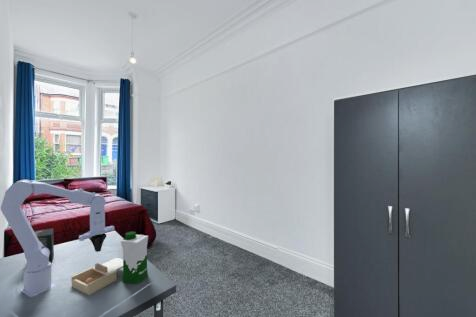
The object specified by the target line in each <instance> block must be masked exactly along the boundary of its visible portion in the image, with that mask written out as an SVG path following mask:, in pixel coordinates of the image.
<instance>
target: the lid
mask: <svg viewBox="0 0 476 317" xmlns="http://www.w3.org/2000/svg"><path fill="white" fill-rule="evenodd" d="M94 266H95V268H93V270H95V271H97V272H99V273H102V274H104V275H107V274H109V273H111V272H113V271H115V270H116V271H117V272H118V271H119V270H121V269H123V258H119V257H114V258H113V259H111V260H107V261H106V262H104V263H101V264H100V263H95V264H94Z"/></svg>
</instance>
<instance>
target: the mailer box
mask: <svg viewBox="0 0 476 317" xmlns="http://www.w3.org/2000/svg"><path fill="white" fill-rule="evenodd" d="M93 268H95V265H94V266H92V267H90V268H87V269H85V270H83V271H81V272H79V273H76V274H74V275H72V276H71V287H72V288H74V289H76V290H78V291H80V292H82V293H84V294H85V295H87V296H90V295H92V294H94V293H96V292H98V291H99V290H101V289H104V288H105V287H107V286H108V285H110V284H112V283H114V282H116V281H117V272H118V270H117V271H116V270H115V271H113V272H111V273H109V274H107V275H104V274H102V273H99V272H97V271H95V270H93ZM88 278H93V279H94V281H93V282H91V283H89V284H85V281H86V280H87V279H88Z"/></svg>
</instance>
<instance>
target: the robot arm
mask: <svg viewBox="0 0 476 317" xmlns="http://www.w3.org/2000/svg"><path fill="white" fill-rule="evenodd" d="M32 193H33V196H37V195H43V194H47V195H52V196H57V197H60V198H65V199H66V198H67V199H68V200H69V202H71V203H74V204H79V205H83V206H90V207H89V231H87V232H85V233H83V234H79V235H78V241H80V242H83V241H85V240H87V239H89V240H90V242H91V244H92V246H93V248H94V252H96V253H99V252H101V251H102V248H103V245H104V244H103V243H104V241H105V240H106V238H107V234H106V233H109V232H113V231H115V226H114V225H110V226H106V211H105V210H106V209H105V205H106V204H107V201H106V198H105V197H104V196H103V195H102V194H100V193H96V192H94V191H93V192H89V191H85V190H84V189H83V188H79V189H78V188H75V189H73V190H70V189H67V188H64V187H60V186H56V185H53V184H50V183H47V182H42V181H37V180H33V181H32V180H30V179H20V180H18V181H16V182H13V183H12V184H11V185H10V186H9V187H8V188H7V190H5V192H4V197H3V200H2V202H1V205H0V211H1V213H2V215H3V217H4V218H5V220H6V222H7V223H8V225H9V227H10V228H11V229H10V230H12V233H13V234H14V236H15V237H16V240H17V241H18V243H19V245H20V246H21V248H22V249H23V254H24V258H25V259H26V269H25V270H24V272H23V276H22V277H23V278H22V279H23V280H22V281H23V288H21V289H20V292H22V293H23V294H25V295H27V296H28V297H29V298H33V297H36V296H37V295H40V294H42V293H43V292H45V291H48V290H51V289H53V288H55V287H56V286H57V284H55V283H53V282H52V263H51V262H49V255H50V250H49V249H48V248H46V247H44V246H43V244H42V243H41V242H40V241H39V240H38V238H37V236H36V234H35V232H34V231H35V230H34V229H33V227H32V225H31V223H30V221H29V219H28V217H27V216H26V214H25V212H24V211H23V208H22V207H21V206H22V205H23V203H24V202H25V200H26V199H27V198H29V197H30V196H31V195H32Z"/></svg>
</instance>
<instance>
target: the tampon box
mask: <svg viewBox="0 0 476 317" xmlns="http://www.w3.org/2000/svg"><path fill="white" fill-rule="evenodd" d="M54 230H55V229H54V228H46V229H40V230H34V232H35V234H36V236H37V238H38V240H39V241H40V242H41V243H42V244H43V246H44V247H46V248H48V249H49V250H50V255H49V262H51V264H53V261H54V256H55V252H54V251H55V250H54V248H55V247H54V244H55V242H54V240H55V239H54V238H55V237H54V236H55V235H54Z"/></svg>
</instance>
